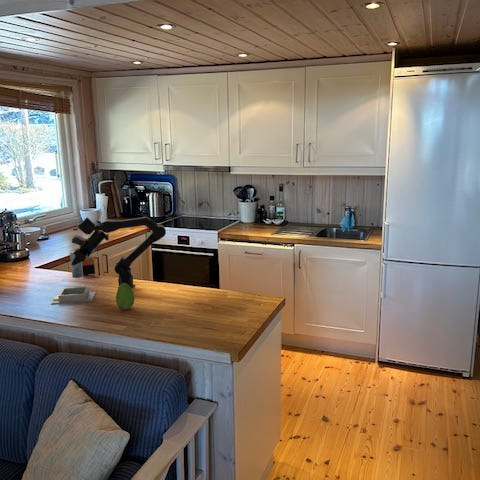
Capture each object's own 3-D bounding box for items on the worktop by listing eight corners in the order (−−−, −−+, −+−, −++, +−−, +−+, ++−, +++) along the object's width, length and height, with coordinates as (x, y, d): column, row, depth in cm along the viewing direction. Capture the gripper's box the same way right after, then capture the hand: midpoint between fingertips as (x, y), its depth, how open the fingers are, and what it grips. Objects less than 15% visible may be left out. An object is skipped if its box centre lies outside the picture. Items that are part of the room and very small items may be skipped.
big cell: (85, 275, 239) (82, 249, 237) (79, 278, 234) (77, 252, 232) (76, 275, 240) (73, 249, 238) (70, 277, 236) (67, 252, 233)
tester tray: (95, 292, 234) (95, 285, 233) (92, 301, 221) (91, 294, 221) (57, 295, 231) (56, 288, 231) (51, 304, 219) (50, 296, 218)
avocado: (125, 313, 205) (123, 286, 203) (112, 310, 209) (110, 283, 207) (139, 307, 212) (137, 281, 209) (126, 304, 216) (124, 279, 213)
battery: (95, 274, 267) (93, 256, 265) (82, 275, 264) (80, 258, 262) (94, 272, 271) (92, 255, 269) (81, 273, 268) (80, 256, 266)
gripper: (86, 226, 242) (66, 248, 244) (75, 233, 224) (54, 257, 225) (103, 241, 244) (83, 263, 246) (94, 249, 225) (73, 273, 227)
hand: (73, 263), depth 236 cm, fingers closed on big cell, 5 cm apart
